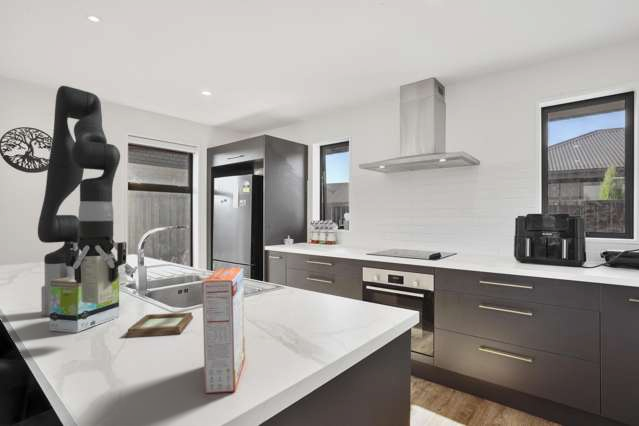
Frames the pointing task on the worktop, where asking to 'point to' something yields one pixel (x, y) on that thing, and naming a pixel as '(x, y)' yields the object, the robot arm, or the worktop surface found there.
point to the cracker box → (223, 329)
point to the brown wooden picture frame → (160, 324)
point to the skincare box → (95, 280)
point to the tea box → (78, 307)
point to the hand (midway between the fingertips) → (96, 282)
